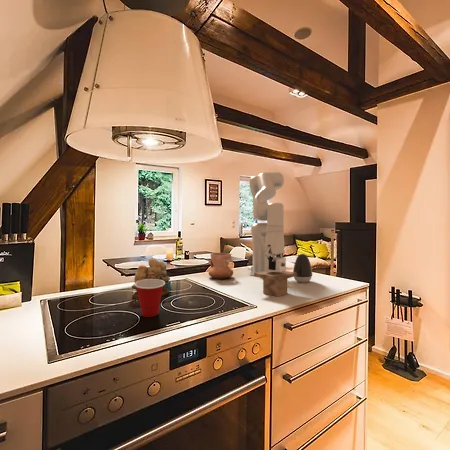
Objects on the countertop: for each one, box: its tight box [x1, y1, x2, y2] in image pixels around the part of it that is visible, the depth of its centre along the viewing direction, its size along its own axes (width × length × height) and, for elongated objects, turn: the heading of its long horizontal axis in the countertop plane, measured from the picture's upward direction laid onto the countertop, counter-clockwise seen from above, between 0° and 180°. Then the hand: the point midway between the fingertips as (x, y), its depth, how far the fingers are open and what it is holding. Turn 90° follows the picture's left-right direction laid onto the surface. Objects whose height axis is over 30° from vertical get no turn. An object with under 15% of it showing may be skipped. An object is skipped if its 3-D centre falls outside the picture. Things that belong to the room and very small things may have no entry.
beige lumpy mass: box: [131, 258, 171, 301], centre depth 129 cm, size 18×12×17 cm, turn 130°
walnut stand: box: [253, 270, 297, 297], centre depth 132 cm, size 14×14×10 cm
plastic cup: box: [134, 279, 166, 318], centre depth 104 cm, size 11×11×12 cm
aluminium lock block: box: [265, 255, 287, 272], centre depth 131 cm, size 9×5×6 cm, turn 47°
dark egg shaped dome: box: [292, 253, 313, 284], centre depth 155 cm, size 10×10×15 cm
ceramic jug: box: [208, 252, 234, 280], centre depth 167 cm, size 18×14×14 cm
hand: (275, 268), depth 132 cm, fingers closed on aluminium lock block, 4 cm apart
